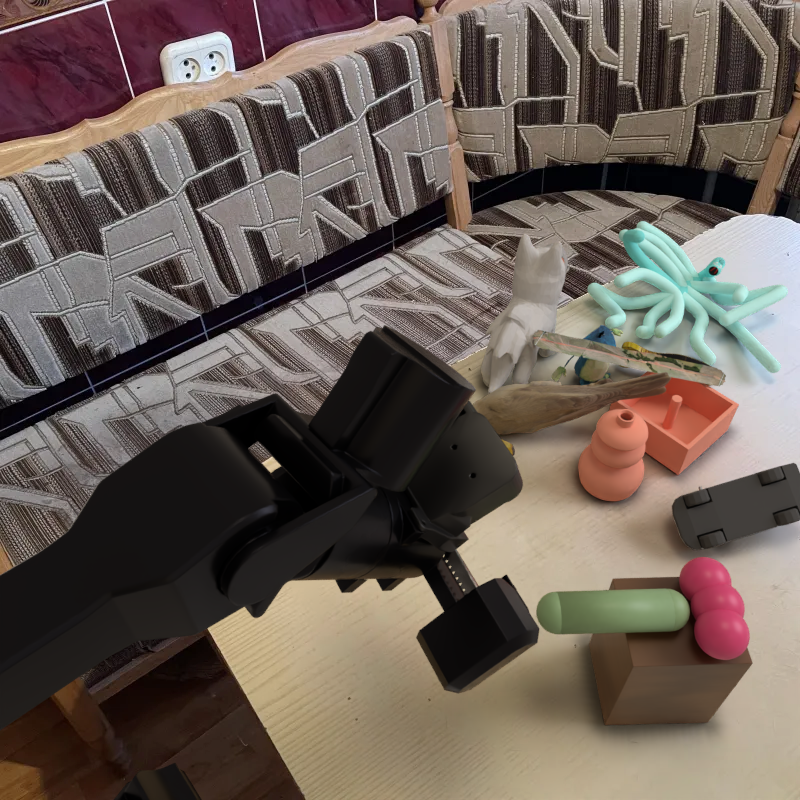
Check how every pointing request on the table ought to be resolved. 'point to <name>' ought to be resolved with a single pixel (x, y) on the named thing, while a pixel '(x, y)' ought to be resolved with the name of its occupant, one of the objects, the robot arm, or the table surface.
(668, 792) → the table surface
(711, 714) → the block
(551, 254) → the toy
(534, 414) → the sculpture
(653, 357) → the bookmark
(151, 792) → the robot arm
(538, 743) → the table surface
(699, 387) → the pottery
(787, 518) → the toy car
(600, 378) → the toy figurine
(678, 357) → the decorative item
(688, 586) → the green pink knobbed rod
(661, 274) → the tentacled creature figurine
